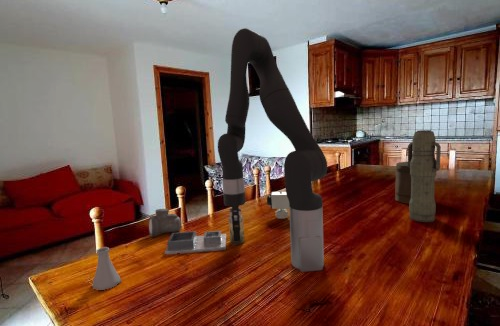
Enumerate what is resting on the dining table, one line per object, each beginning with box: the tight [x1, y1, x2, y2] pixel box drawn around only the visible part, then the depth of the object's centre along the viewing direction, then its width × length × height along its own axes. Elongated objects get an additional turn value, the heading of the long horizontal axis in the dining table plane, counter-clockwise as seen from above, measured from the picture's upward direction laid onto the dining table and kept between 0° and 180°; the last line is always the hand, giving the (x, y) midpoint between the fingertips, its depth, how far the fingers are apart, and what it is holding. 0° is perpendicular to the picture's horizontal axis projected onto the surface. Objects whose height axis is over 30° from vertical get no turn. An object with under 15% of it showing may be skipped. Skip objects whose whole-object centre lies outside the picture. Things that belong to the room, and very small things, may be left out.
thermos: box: [407, 129, 442, 223], centre depth 114 cm, size 9×12×35 cm
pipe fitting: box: [148, 208, 182, 238], centre depth 115 cm, size 12×8×10 cm
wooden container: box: [394, 161, 411, 205], centre depth 140 cm, size 15×15×22 cm
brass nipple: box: [227, 214, 245, 246], centre depth 102 cm, size 6×6×9 cm
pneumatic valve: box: [266, 190, 289, 220], centre depth 126 cm, size 6×12×12 cm, turn 78°
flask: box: [92, 246, 122, 291], centre depth 79 cm, size 7×7×10 cm
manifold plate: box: [164, 230, 227, 255], centre depth 102 cm, size 12×20×4 cm, turn 94°
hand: (237, 237), depth 103 cm, fingers closed on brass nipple, 5 cm apart
